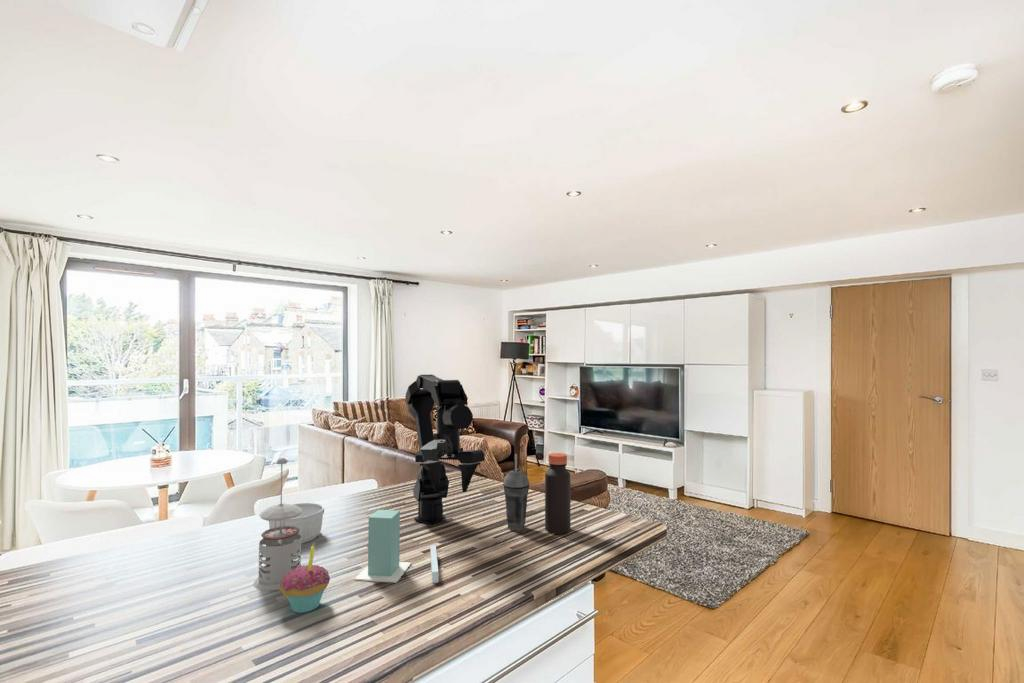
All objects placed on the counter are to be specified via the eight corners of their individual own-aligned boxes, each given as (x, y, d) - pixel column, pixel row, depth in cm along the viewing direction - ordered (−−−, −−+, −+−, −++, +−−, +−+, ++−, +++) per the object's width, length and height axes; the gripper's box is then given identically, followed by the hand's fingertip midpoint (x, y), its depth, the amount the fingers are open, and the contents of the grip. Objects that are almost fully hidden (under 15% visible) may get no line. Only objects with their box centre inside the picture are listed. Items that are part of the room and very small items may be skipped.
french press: (252, 595, 93) (255, 464, 94) (253, 571, 103) (255, 454, 104) (307, 584, 98) (309, 460, 99) (303, 562, 108) (305, 450, 109)
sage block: (377, 564, 106) (378, 509, 106) (399, 566, 105) (399, 510, 106) (367, 575, 101) (368, 517, 102) (390, 576, 100) (391, 518, 101)
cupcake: (339, 601, 91) (340, 536, 91) (302, 623, 83) (303, 553, 84) (306, 591, 95) (307, 529, 95) (268, 612, 87) (269, 544, 87)
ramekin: (254, 543, 119) (255, 514, 120) (296, 525, 132) (297, 500, 132) (295, 551, 114) (295, 521, 115) (335, 532, 127) (335, 505, 127)
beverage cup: (530, 524, 133) (530, 451, 134) (528, 533, 126) (528, 456, 127) (504, 523, 134) (504, 450, 135) (501, 532, 127) (501, 456, 127)
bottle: (571, 535, 125) (571, 457, 126) (545, 534, 125) (545, 457, 126) (569, 525, 132) (569, 452, 132) (544, 525, 132) (544, 452, 133)
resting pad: (372, 561, 108) (372, 560, 108) (411, 564, 107) (411, 562, 107) (354, 580, 99) (354, 578, 99) (396, 582, 98) (396, 581, 98)
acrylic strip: (430, 555, 112) (430, 545, 112) (435, 554, 112) (435, 545, 112) (432, 582, 98) (432, 572, 98) (438, 582, 98) (438, 571, 99)
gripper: (399, 431, 122) (400, 494, 120) (456, 430, 112) (459, 499, 110) (429, 428, 132) (430, 487, 129) (484, 427, 122) (487, 490, 120)
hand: (450, 491), depth 122 cm, fingers open, 9 cm apart
